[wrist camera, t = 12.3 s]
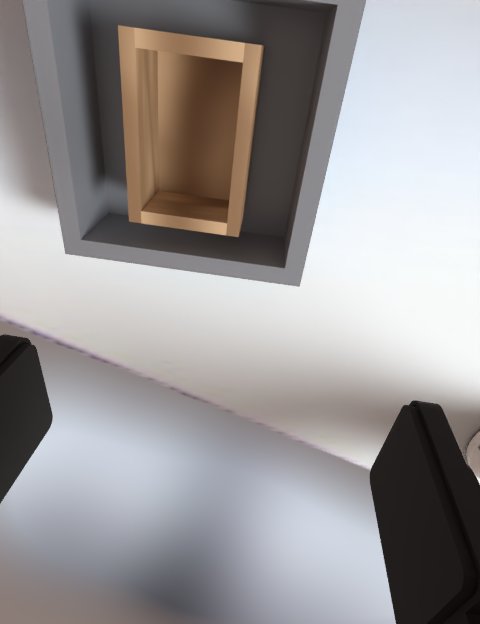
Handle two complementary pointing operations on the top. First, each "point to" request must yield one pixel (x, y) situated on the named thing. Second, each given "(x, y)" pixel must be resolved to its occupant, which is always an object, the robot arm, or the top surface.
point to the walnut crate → (188, 128)
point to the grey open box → (267, 136)
